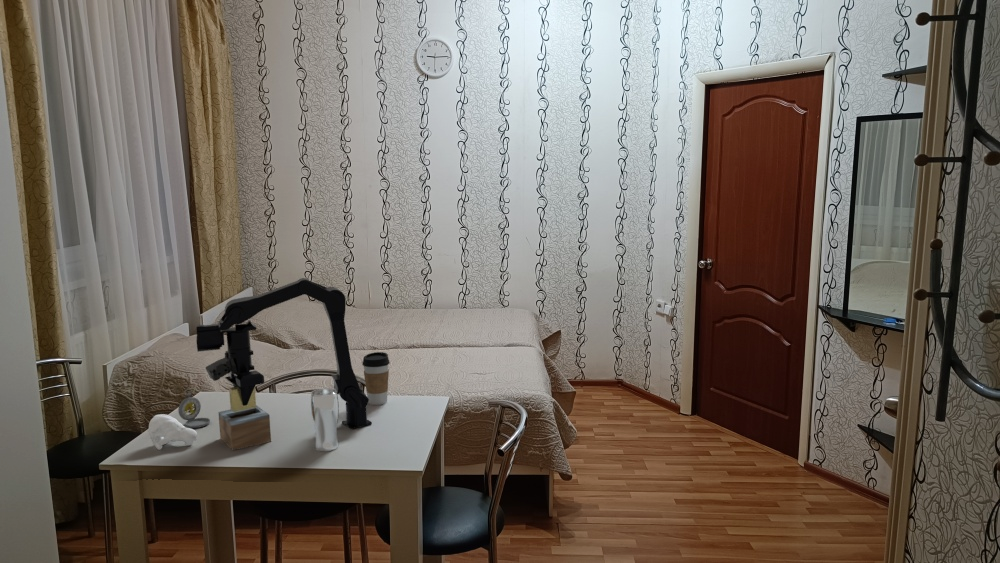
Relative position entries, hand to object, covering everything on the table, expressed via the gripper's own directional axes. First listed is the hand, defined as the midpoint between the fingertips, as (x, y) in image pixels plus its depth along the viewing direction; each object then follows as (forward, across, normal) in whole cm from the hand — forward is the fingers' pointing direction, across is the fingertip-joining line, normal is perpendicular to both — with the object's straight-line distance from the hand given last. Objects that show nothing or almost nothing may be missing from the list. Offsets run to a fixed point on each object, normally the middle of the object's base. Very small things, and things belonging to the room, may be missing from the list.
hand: (243, 404), depth 195 cm
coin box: (+10, 0, 0) cm, 10 cm away
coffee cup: (+10, -6, +43) cm, 45 cm away
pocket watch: (+10, -22, -7) cm, 25 cm away
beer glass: (+10, +19, +15) cm, 26 cm away
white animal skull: (+10, -8, -16) cm, 21 cm away
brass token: (+1, 0, 0) cm, 1 cm away
